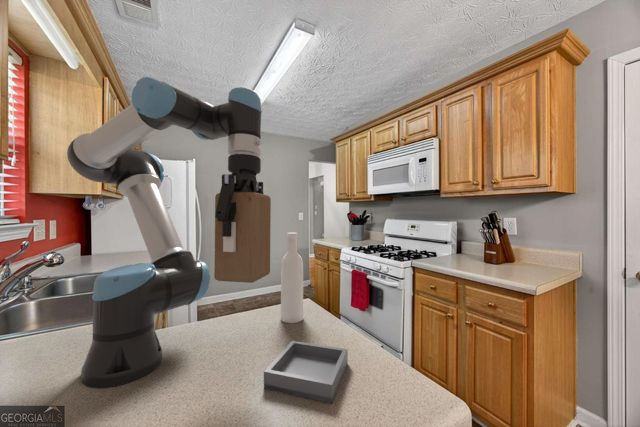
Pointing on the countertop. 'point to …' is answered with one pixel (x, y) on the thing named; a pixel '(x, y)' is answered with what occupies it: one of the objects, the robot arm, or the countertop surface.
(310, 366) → the tray
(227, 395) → the countertop surface
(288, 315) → the bottle
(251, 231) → the wooden block
